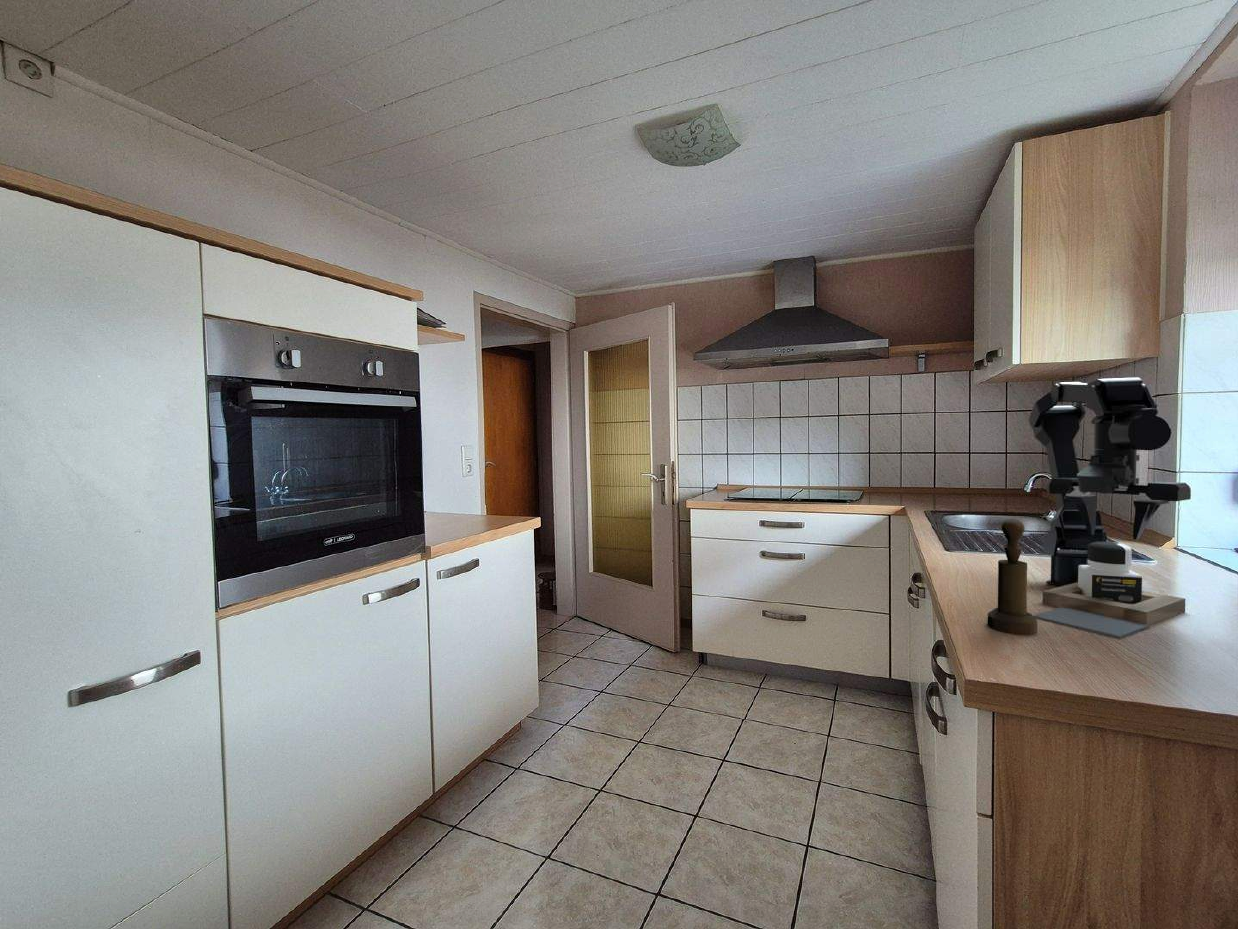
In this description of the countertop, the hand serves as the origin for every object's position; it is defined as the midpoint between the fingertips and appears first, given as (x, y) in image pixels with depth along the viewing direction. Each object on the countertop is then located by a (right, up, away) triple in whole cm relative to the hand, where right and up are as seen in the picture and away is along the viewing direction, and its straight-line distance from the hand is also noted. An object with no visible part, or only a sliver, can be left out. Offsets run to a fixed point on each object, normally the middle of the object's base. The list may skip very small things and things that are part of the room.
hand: (1113, 536), depth 103 cm
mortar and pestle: (-25, -14, -10) cm, 30 cm away
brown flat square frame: (0, -13, +1) cm, 13 cm away
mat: (-10, -14, -7) cm, 18 cm away
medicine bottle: (+1, -14, +2) cm, 14 cm away
